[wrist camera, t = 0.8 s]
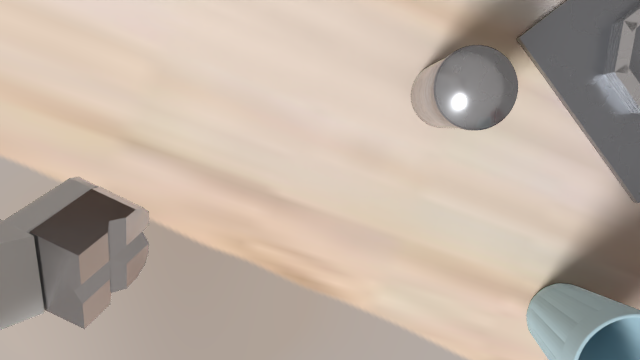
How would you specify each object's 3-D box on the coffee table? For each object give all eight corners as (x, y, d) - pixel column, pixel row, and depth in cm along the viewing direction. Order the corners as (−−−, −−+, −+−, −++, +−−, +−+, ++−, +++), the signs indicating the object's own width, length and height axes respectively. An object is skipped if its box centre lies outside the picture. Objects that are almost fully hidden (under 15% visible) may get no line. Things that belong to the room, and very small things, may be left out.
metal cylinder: (396, 89, 42) (417, 79, 33) (450, 47, 42) (486, 26, 33) (436, 142, 43) (468, 147, 34) (489, 101, 43) (536, 95, 34)
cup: (617, 277, 44) (709, 325, 34) (596, 367, 45) (679, 441, 34) (524, 261, 44) (588, 305, 33) (505, 352, 45) (561, 422, 34)
